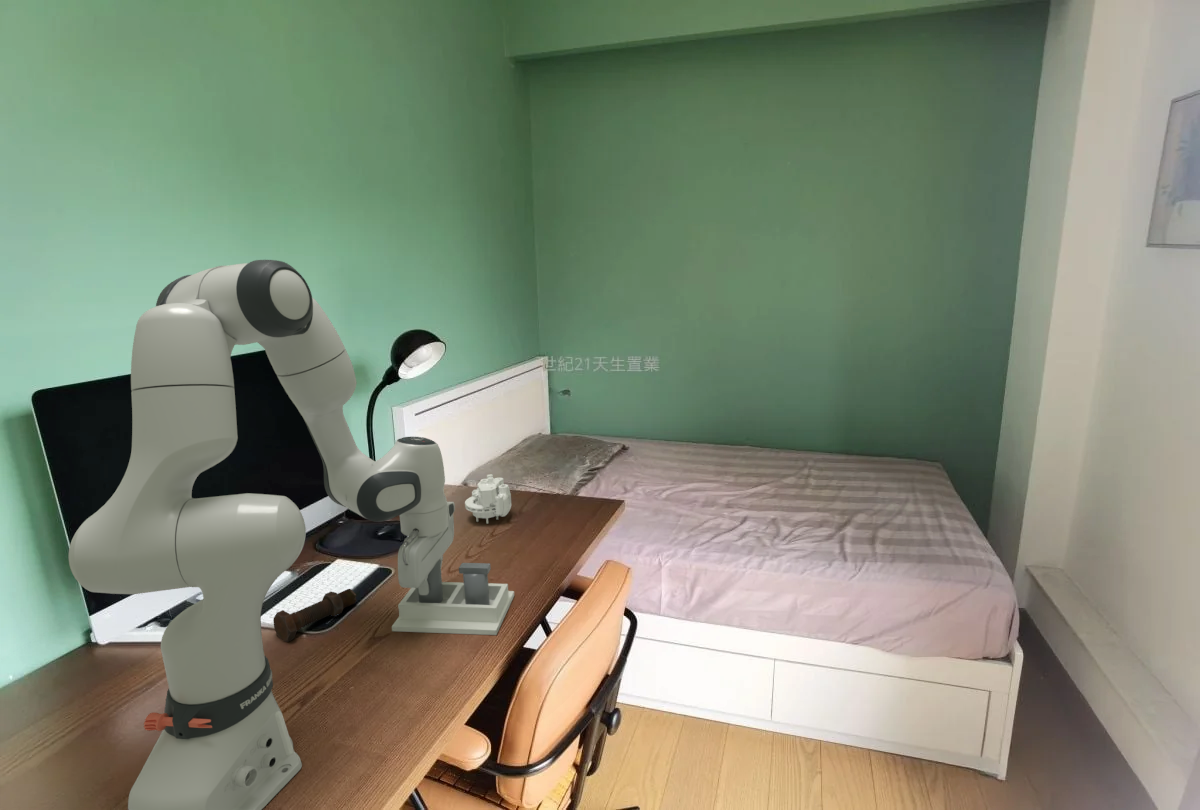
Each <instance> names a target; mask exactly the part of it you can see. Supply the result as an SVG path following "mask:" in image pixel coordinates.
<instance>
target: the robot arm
mask: <svg viewBox="0 0 1200 810" xmlns="http://www.w3.org/2000/svg"><path fill="white" fill-rule="evenodd" d="M156 300H157V301H156V302H155V303H156V304H155V306H154V307H151V308H149V309H147V310H146V311H145V312H143V313H142V314H141V316H140V317H139V318H138V320H137V322H136V327H135V332H134V336H133V342H132V350H131V361H130V362H131V363H130V365H131V366H130V390H131V393H130V394H131V408H132V409H131V411H132V412H131V414H132V418H131V419H132V421H131V423H132V426H131V427H132V429H131V430H132V431H131V432H132V433H131V434H132V435H131V453H130V457H129V462H128V464H127V468H126V470H125V472H124V475H123V477H122V479H121V481H120V483H119V485H118V486H117V488H116V490H115V492H114V493H112V496H111V497H110V498H109V499H108V500H107V501H106V502H105V504H104V505H102V506H101V507H100V508H99V509H98V510H97V511H96V512H94V513H93V514H92V515H90V516H88V518H86V519H85V520H84V521H83V522H82V523H81V525H80V526H79V527H78V529H77V530H76V532H75V533H74V535H73V537H72V539H71V542H70V544H69V548H68V564H69V568H70V572H71V573H72V576H73V577H74V579H75V580H76V581H77V582H78V584H79V585H80V586H81V587H82V588H84V589H85V590H86V591H89V592H91V593H98V594H99V593H100V594H112V595H115V594H116V595H139V594H140V595H141V594H146V593H154V592H155V593H156V592H163V591H171V590H176V589H177V590H178V589H185V588H199V589H200V590H201V593H202V597H203V598H202V599H200V600H198V601H197V602H195V603H194V604H192V605H190V606H189V607H187V608H186V609H184V610H182V612H180V613H179V614H178V615H176V616H175V617H174V618H173V619H172V620H171V621H170V622H169V623H168V624H167V627H166V628H165V630H164V632H163V635H162V636H161V642H160V652H161V656H162V661H163V665H164V671H165V676H166V681H167V685H168V688H167V690H166V695H165V696H166V697H165V705H164V712H162V713H159V712H155V711H154V712H151V713H149V714H147V715H146V718H145V719H144V722H143V728H144V730H145V731H149V732H150V731H158V732H160V735H159V737H158V739H157V741H156V742H155V744H154V746H153V748H152V750H151V752H150V754H149V756H148V757H147V759H146V761H145V763H144V764H143V767H142V769H141V770H140V772H139V774H138V776H137V778H136V779H135V782H134V783H133V785H132V787H131V789H130V791H129V795H128V800H127V810H263V809H264V808H265V806H267V804H269V803H270V802H271V800H272V799H274V797H275V796H276V795H277V794H278V793H279V792H280V791H281V790H282V789H283V788H284V787H285V786H286V785H287V784H288V783H289V782H290V781H291V780H292V779H293V778H294V776H296V775H297V774H298V772H299V771H300V770H301V769H302V766H303V763H302V761H301V758H300V756H299V755H298V753H297V752H295V750H294V743H293V740H292V738H291V736H290V735H289V731H288V728H287V724H286V722H285V719H284V716H283V715H284V714H283V712H282V710H281V708H280V706H279V705H278V702H277V701H276V698H275V695H274V694H273V691H272V690H273V686H274V680H273V671H272V669H271V666H270V662H269V659H268V657H267V656H266V655H265V651H264V645H263V634H262V617H261V615H262V608H263V604H264V601H265V598H266V596H267V594H268V593H269V590H270V589H271V587H272V585H273V584H274V582H275V581H276V580H277V579H278V578H279V577H280V576H281V575H282V574H283V573H284V572H285V571H287V570H288V569H289V568H291V566H292V565H293V564H294V563H295V562H296V561H297V559H298V557H299V556H300V554H301V552H302V550H303V548H304V546H305V542H306V541H305V540H306V534H307V529H306V528H307V527H306V523H305V519H304V516H303V513H302V512H301V510H300V509H299V507H298V506H297V504H296V503H295V502H293V500H291V499H290V498H289V497H287V496H285V495H279V494H278V495H277V494H268V493H267V494H264V493H252V492H251V493H248V492H246V493H238V494H228V495H219V496H208V497H199V498H198V497H197V498H194V497H192V493H193V491H192V490H193V486H194V484H195V481H196V480H197V477H199V475H200V474H201V473H203V472H205V471H207V470H209V469H210V468H213V467H215V466H216V465H217V464H219V463H221V462H222V461H224V460H225V459H226V458H228V457H229V456H230V454H232V453H233V451H234V450H235V448H236V446H237V442H238V439H239V437H238V436H239V435H238V425H237V421H238V420H237V409H236V407H237V405H236V395H235V393H236V392H235V379H234V372H233V365H232V359H231V357H232V353H233V350H234V347H235V346H236V345H238V346H245V345H250V344H255V343H257V344H259V345H260V346H261V347H262V348H263V349H264V351H265V354H266V355H267V356H266V357H267V358H268V360H269V363H270V365H271V366H272V369H273V371H274V373H275V375H276V377H277V379H278V381H279V383H280V384H281V386H282V387H283V390H284V392H285V393H286V395H288V398H289V399H290V400H291V402H292V404H293V405H294V406H295V407H296V409H297V410H298V412H299V414H300V416H302V418H303V420H304V422H305V425H306V427H307V430H308V432H309V434H310V436H311V438H312V440H313V443H314V445H315V447H316V450H317V451H318V453H319V456H320V459H321V462H322V467H323V485H324V489H325V492H326V494H327V496H328V497H329V498H330V500H331V501H333V502H334V503H335V504H337V505H338V506H342V507H344V508H347V509H348V510H350V511H351V512H353V513H355V514H356V515H359V516H360V517H362V518H364V519H366V520H369V521H371V522H377V523H379V522H381V523H382V522H386V521H389V520H391V519H394V518H395V517H398V516H399V521H400V532H401V533H402V534H403V535H404V536H406V538H405V539H404V541H403V543H402V545H400V547H399V549H398V553H397V578H398V584H399V586H400V587H401V588H404V589H405V588H406V589H411V588H419V594H420V595H428V593H429V592H430V590H431V588H430V583H428V582H427V578H428V574H429V573H430V572H431V570H432V569H433V567H434V566H435V565H436V563H437V562H438V561H439V559H440V566H441V567H442V565H443V560H444V559H443V558H444V556H443V555H444V554H445V553H446V551H447V550H448V549H449V547H450V546H451V545H452V544H453V541H454V536H455V521H454V519H455V518H454V513H455V511H456V506H455V502H454V501H448V499H447V497H446V495H445V491H444V490H445V483H446V475H445V468H444V466H445V465H444V460H443V456H442V452H441V449H440V446H439V444H438V443H437V442H436V441H435V440H432V439H430V438H427V437H421V436H405V437H401V438H398V439H396V441H395V443H394V445H393V447H391V448H390V450H389V451H387V452H386V453H385V454H384V455H383V456H382V457H380V458H379V459H377V460H376V461H375V460H373V459H372V458H370V457H369V456H368V455H366V454H365V453H364V452H362V451H361V450H360V449H359V448H358V446H357V443H356V442H355V438H354V437H353V436H354V435H352V432H351V429H350V428H349V425H348V423H347V420H346V418H345V415H344V409H343V408H344V406H345V404H347V403H348V402H349V400H351V398H352V396H353V395H354V392H355V391H356V388H357V378H356V373H355V370H354V369H355V368H354V365H353V364H352V363H353V362H352V360H351V358H350V355H349V354H348V351H347V350H346V347H345V345H344V343H343V341H342V339H341V337H340V335H339V333H338V332H337V330H336V328H335V327H334V325H333V323H332V322H331V320H330V319H329V317H328V315H327V313H326V312H325V311H324V309H323V308H322V307H321V305H320V304H319V303H318V301H317V300H316V299H315V298H314V297H313V295H312V292H311V288H310V286H309V284H308V283H307V280H305V278H304V277H303V276H302V274H301V273H300V272H299V271H297V269H295V268H294V267H293V266H292V265H290V264H288V262H285V261H282V260H276V259H256V260H252V261H250V262H245V263H244V262H243V263H236V264H230V265H226V264H225V265H218V266H215V267H210V268H207V269H204V270H201V271H198V272H196V273H193V274H187V275H183V276H180V277H178V278H177V279H175V280H173V281H171V282H170V283H168V284H167V285H166V286H165V287H164V288H163V289H162V290H161V292H160V294H159V295H158V297H157V299H156Z"/></svg>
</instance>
